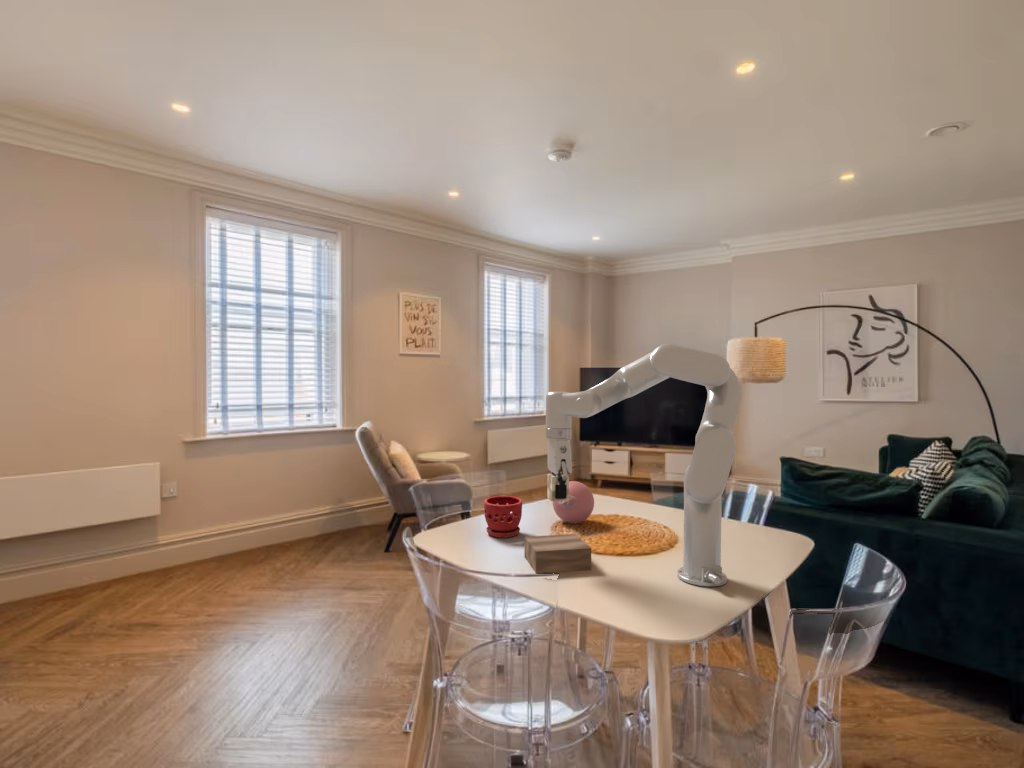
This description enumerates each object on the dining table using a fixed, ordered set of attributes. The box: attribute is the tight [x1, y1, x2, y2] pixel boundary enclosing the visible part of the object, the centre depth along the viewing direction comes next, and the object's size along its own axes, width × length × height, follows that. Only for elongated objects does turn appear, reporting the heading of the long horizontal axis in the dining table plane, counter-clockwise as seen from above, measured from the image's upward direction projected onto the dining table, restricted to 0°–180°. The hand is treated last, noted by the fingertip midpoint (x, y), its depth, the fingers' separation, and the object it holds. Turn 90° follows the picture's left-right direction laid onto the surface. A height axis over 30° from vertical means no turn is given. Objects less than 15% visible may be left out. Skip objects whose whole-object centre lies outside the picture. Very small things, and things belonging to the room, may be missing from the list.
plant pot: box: [483, 495, 523, 538], centre depth 184 cm, size 13×13×12 cm
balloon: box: [552, 480, 595, 524], centre depth 197 cm, size 15×20×15 cm
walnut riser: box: [523, 533, 592, 574], centre depth 155 cm, size 14×16×6 cm
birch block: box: [546, 473, 570, 502], centre depth 155 cm, size 5×5×7 cm
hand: (558, 495), depth 155 cm, fingers closed on birch block, 5 cm apart
